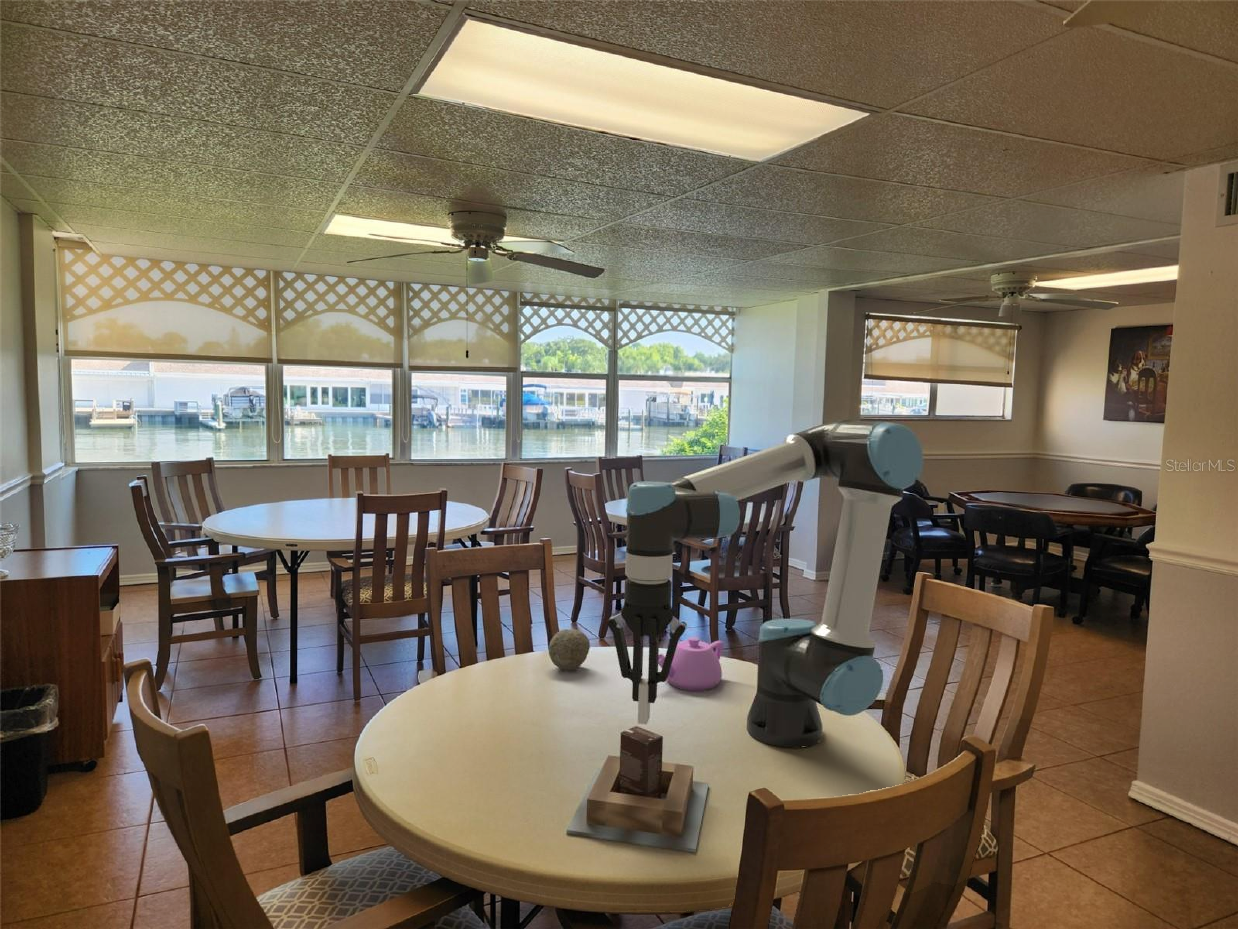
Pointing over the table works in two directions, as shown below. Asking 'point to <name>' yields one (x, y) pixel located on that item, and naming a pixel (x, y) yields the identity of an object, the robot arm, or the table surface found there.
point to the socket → (643, 809)
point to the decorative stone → (569, 649)
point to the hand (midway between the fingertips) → (643, 720)
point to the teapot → (695, 665)
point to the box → (640, 763)
